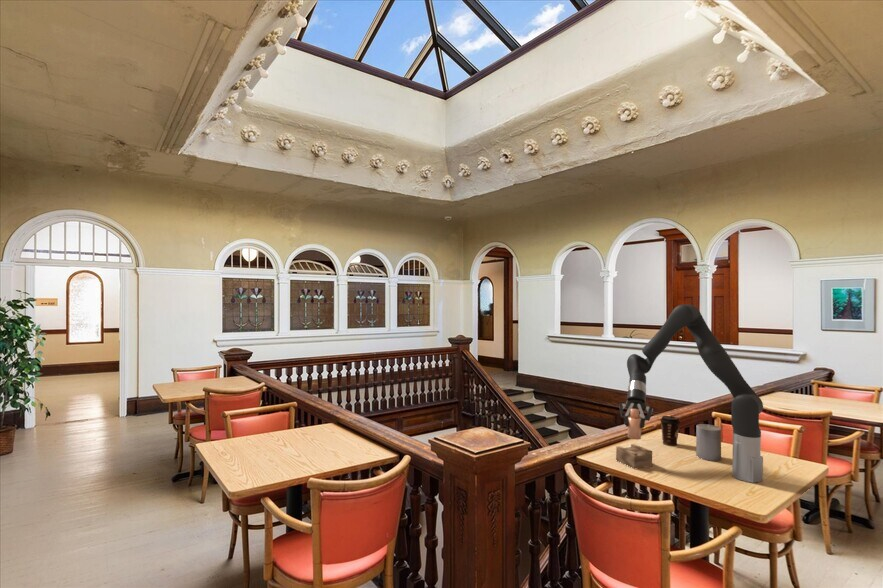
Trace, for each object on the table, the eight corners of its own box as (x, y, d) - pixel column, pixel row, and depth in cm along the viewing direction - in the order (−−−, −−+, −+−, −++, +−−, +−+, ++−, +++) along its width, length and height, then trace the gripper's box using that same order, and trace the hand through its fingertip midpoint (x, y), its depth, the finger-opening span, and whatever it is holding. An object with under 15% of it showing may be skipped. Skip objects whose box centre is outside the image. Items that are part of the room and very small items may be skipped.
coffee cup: (675, 441, 227) (676, 415, 227) (682, 447, 219) (683, 420, 219) (657, 441, 228) (657, 414, 228) (663, 446, 220) (664, 419, 220)
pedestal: (652, 465, 193) (652, 451, 193) (634, 468, 189) (634, 453, 189) (633, 458, 202) (633, 443, 202) (616, 460, 198) (616, 446, 198)
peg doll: (643, 438, 195) (644, 410, 195) (634, 440, 192) (635, 411, 193) (634, 435, 199) (634, 407, 199) (624, 436, 197) (625, 408, 197)
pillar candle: (710, 453, 211) (710, 420, 211) (726, 461, 201) (726, 426, 201) (691, 454, 210) (691, 421, 210) (705, 461, 200) (706, 427, 200)
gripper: (619, 386, 206) (615, 419, 195) (654, 390, 199) (652, 424, 189) (620, 396, 211) (616, 428, 200) (654, 400, 204) (652, 434, 193)
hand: (634, 426), depth 194 cm, fingers closed on peg doll, 5 cm apart
